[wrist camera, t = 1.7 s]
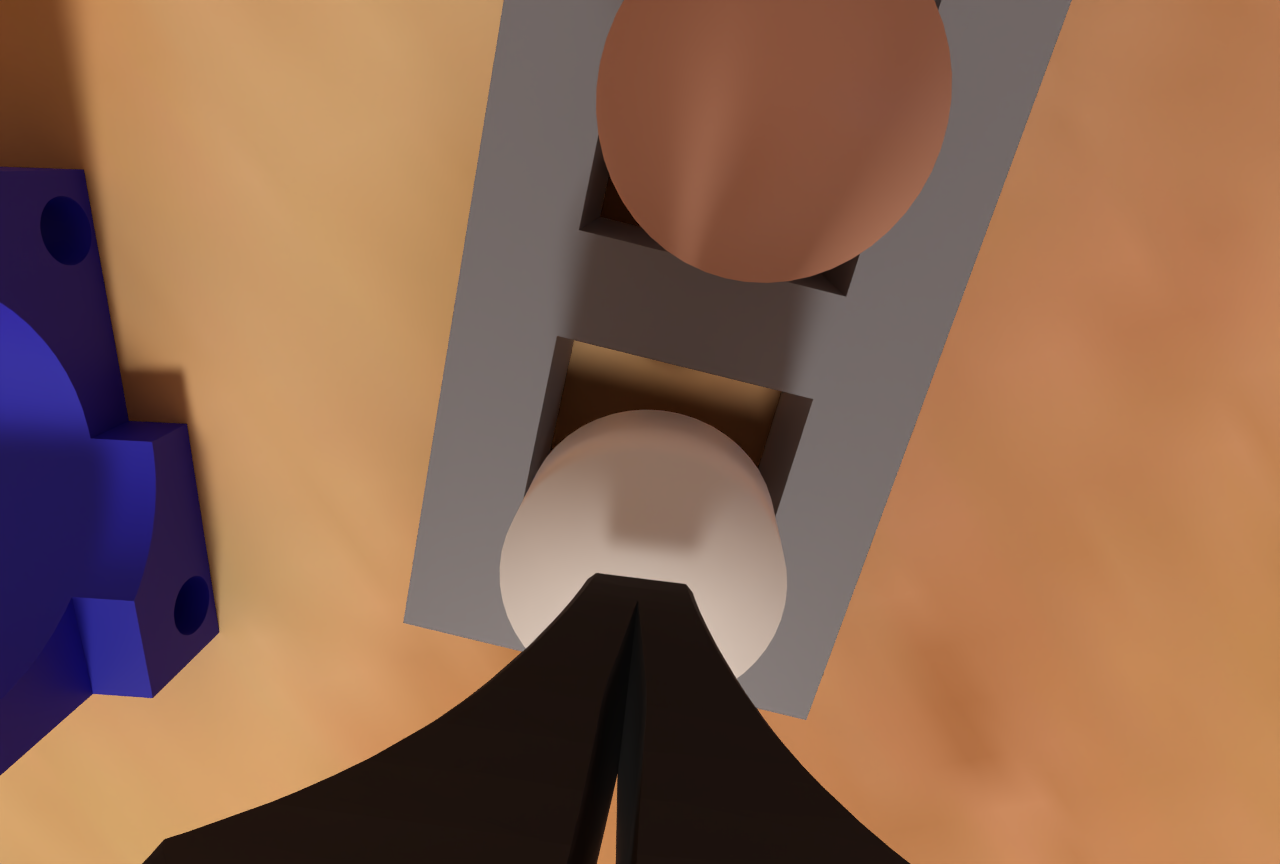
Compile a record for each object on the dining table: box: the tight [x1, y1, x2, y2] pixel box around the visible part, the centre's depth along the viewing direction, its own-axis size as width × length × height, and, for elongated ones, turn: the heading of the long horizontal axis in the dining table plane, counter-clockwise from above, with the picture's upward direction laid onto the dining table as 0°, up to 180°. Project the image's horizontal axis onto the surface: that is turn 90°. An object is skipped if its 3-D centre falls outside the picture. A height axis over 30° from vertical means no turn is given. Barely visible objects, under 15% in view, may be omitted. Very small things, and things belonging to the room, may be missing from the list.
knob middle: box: [596, 0, 952, 283], centre depth 12 cm, size 4×4×5 cm
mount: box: [403, 0, 1072, 720], centre depth 16 cm, size 9×23×4 cm, turn 167°
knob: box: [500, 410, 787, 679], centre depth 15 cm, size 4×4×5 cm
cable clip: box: [0, 167, 219, 775], centre depth 18 cm, size 12×4×6 cm, turn 178°
